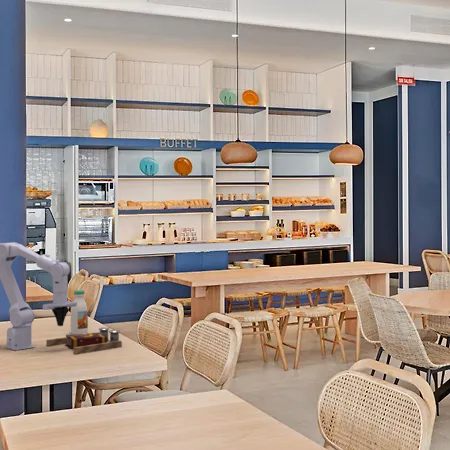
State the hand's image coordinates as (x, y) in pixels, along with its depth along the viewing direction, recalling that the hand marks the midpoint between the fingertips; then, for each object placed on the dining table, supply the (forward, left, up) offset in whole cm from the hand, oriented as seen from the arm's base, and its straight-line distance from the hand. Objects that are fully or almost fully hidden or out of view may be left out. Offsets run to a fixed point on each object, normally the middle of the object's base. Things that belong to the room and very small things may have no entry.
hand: (60, 325), depth 274 cm
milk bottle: (+25, +27, -10) cm, 38 cm away
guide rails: (+11, 0, -10) cm, 15 cm away
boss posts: (+24, 0, -10) cm, 26 cm away
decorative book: (+12, +1, -10) cm, 16 cm away
